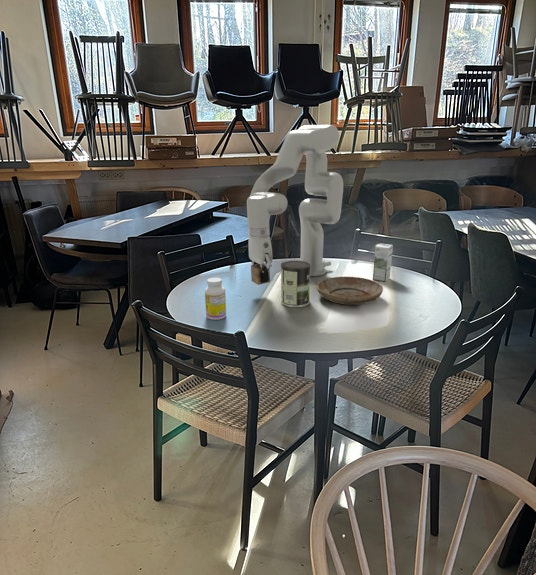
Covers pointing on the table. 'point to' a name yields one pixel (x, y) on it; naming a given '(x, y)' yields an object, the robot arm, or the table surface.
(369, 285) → the wooden plate
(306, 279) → the coffee can
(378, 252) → the syrup box
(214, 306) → the supplement bottle
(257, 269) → the walnut block
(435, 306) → the table surface
